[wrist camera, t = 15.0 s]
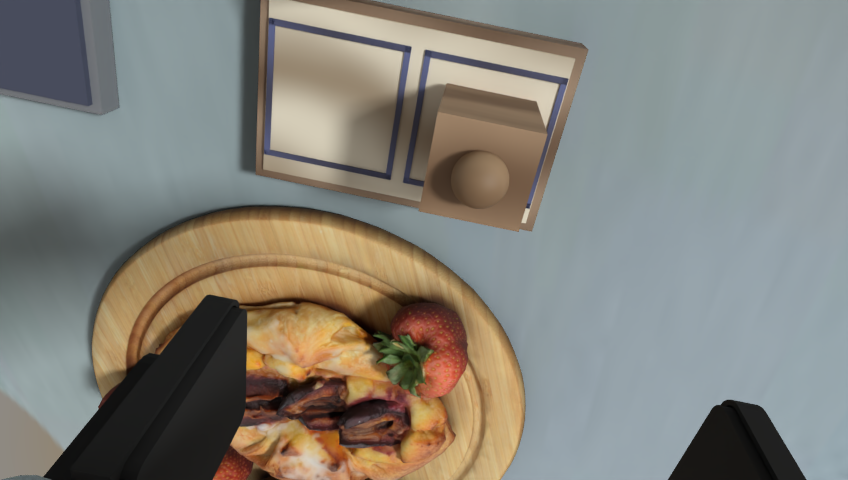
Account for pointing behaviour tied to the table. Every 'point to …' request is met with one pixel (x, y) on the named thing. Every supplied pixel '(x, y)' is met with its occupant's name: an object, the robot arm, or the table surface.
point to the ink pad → (59, 53)
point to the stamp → (483, 157)
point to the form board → (390, 91)
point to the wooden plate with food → (329, 347)
